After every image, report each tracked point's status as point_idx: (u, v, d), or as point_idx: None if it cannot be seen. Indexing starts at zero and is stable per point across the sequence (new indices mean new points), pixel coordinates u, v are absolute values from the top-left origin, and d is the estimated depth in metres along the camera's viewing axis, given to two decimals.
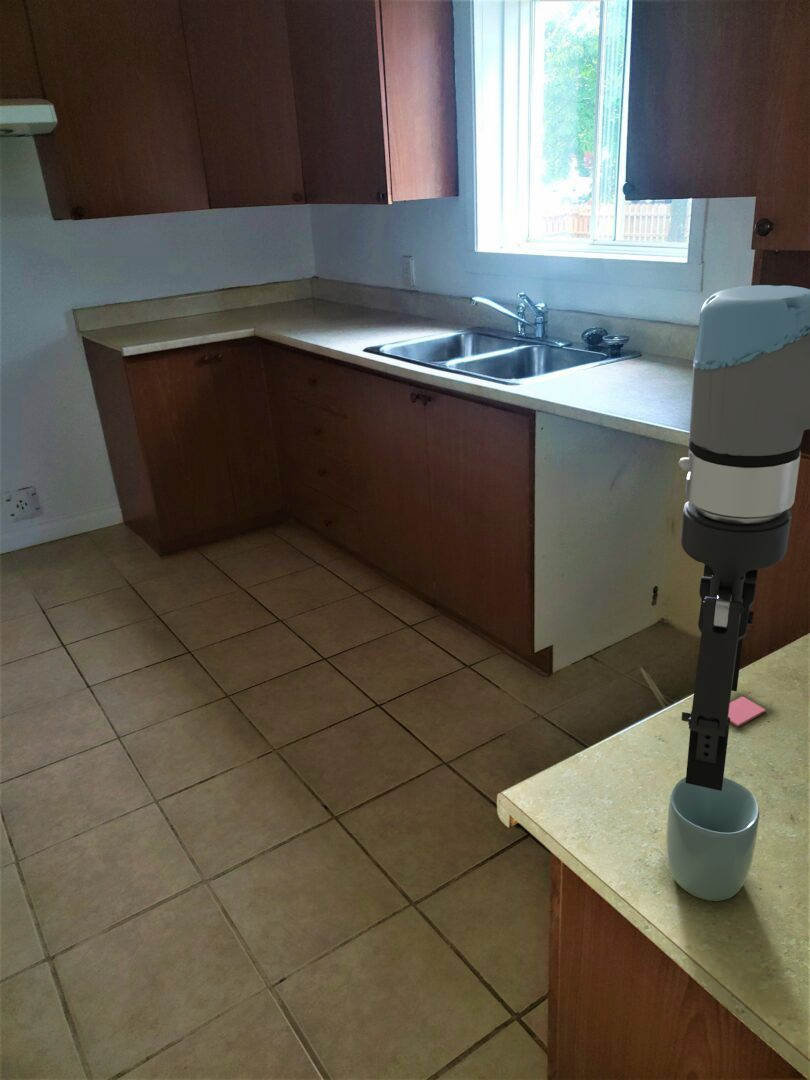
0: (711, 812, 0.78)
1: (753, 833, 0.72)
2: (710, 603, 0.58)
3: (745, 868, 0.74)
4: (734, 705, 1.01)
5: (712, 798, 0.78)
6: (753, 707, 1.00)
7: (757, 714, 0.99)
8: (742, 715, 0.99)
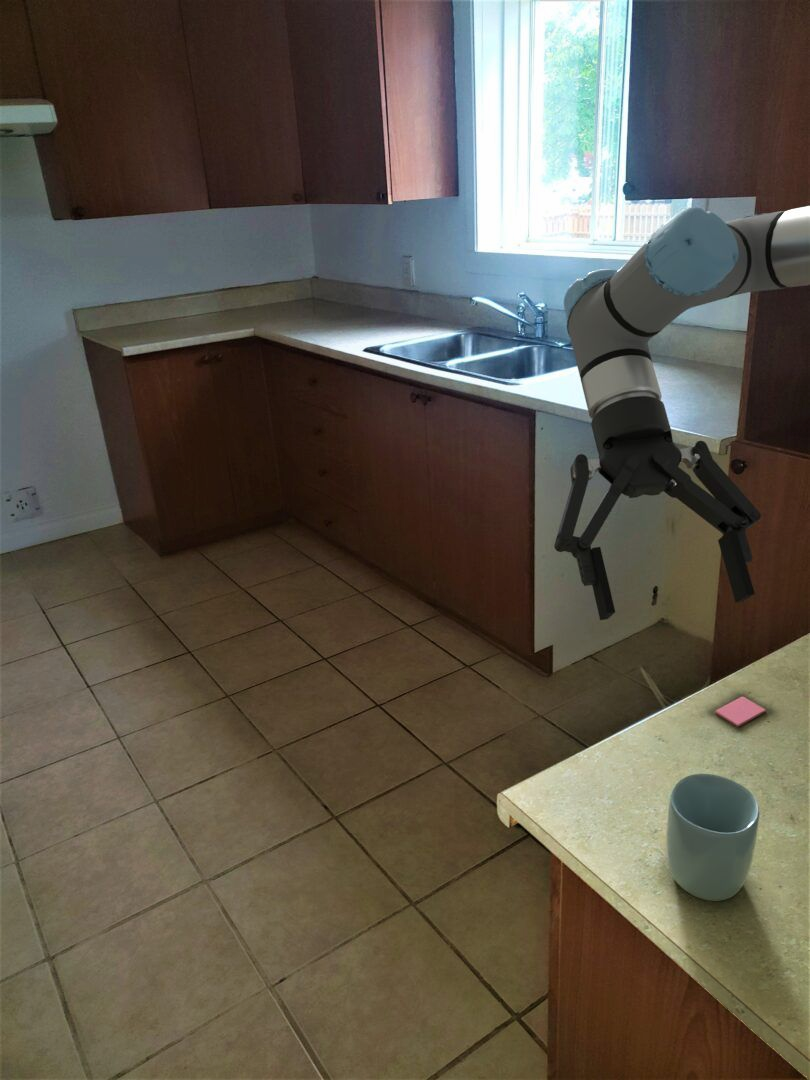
0: (711, 812, 0.78)
1: (753, 833, 0.72)
2: None
3: (745, 868, 0.74)
4: (734, 705, 1.01)
5: (712, 798, 0.78)
6: (753, 707, 1.00)
7: (757, 714, 0.99)
8: (742, 715, 0.99)
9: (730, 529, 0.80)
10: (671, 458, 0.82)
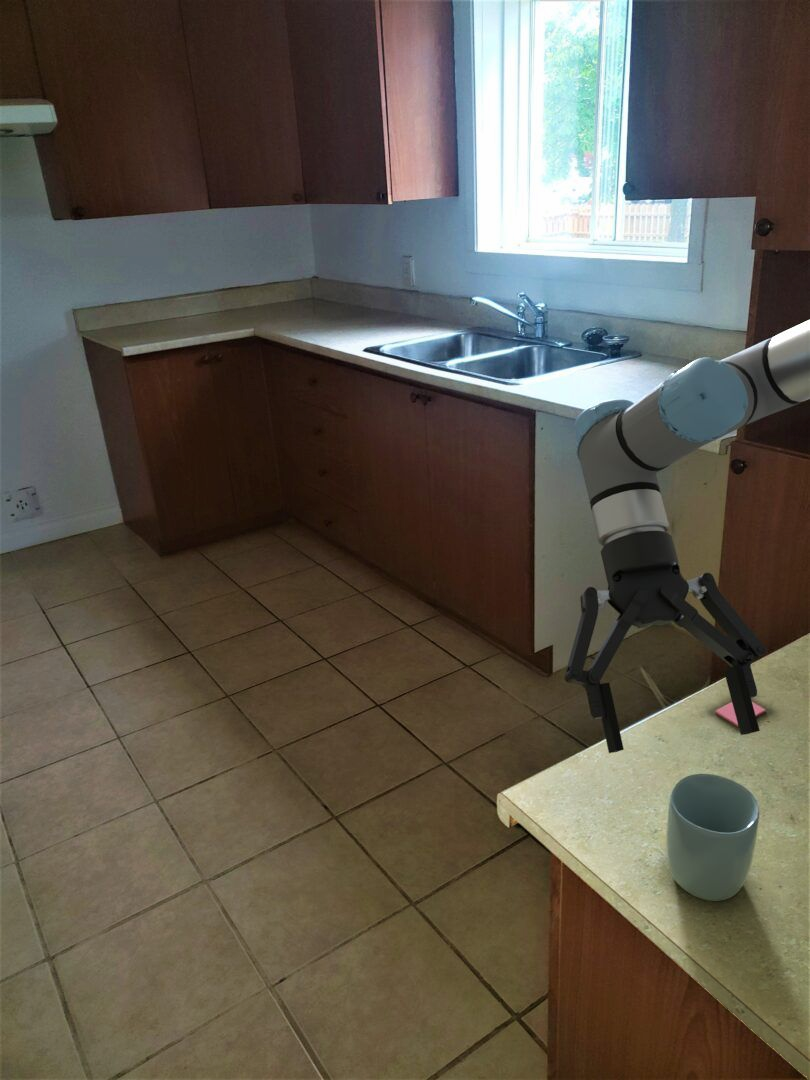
0: (711, 812, 0.78)
1: (753, 833, 0.72)
2: (582, 594, 0.86)
3: (745, 868, 0.74)
4: None
5: (712, 798, 0.78)
6: (753, 707, 1.00)
7: (757, 714, 0.99)
8: None
9: (736, 662, 0.82)
10: (678, 591, 0.84)
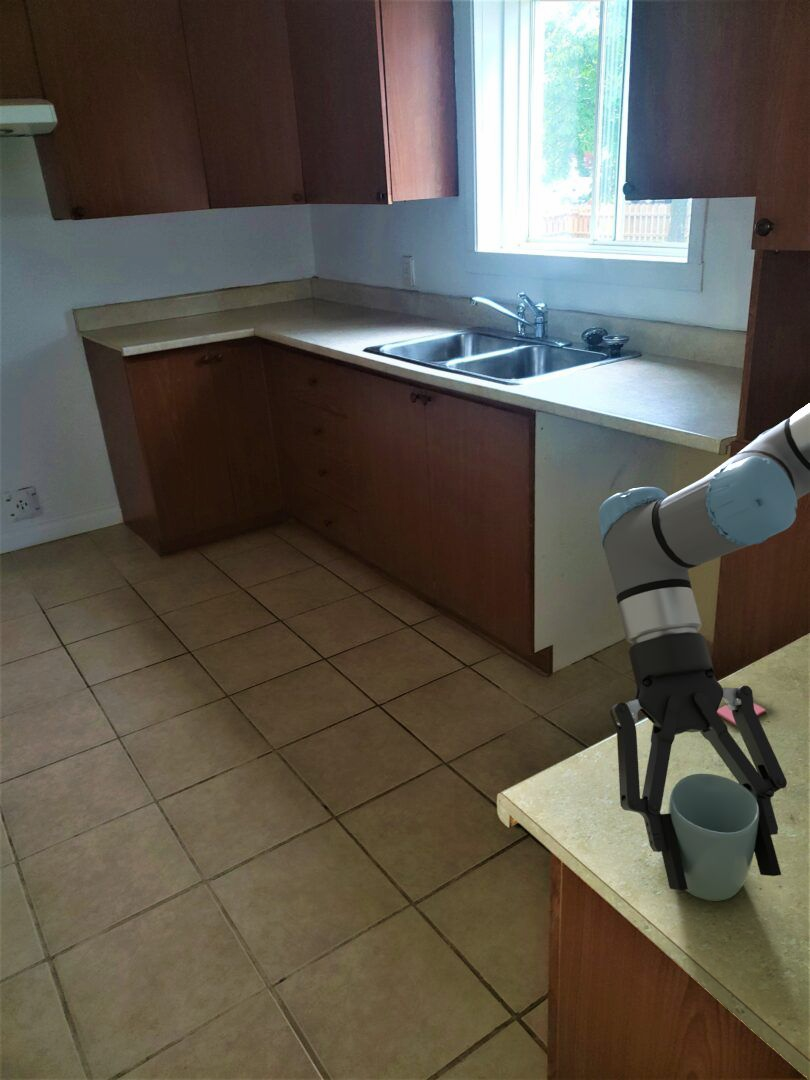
0: (711, 812, 0.78)
1: (753, 833, 0.72)
2: (611, 709, 0.80)
3: (745, 868, 0.74)
4: None
5: (712, 798, 0.78)
6: None
7: (757, 714, 0.99)
8: None
9: (753, 793, 0.77)
10: (713, 696, 0.79)
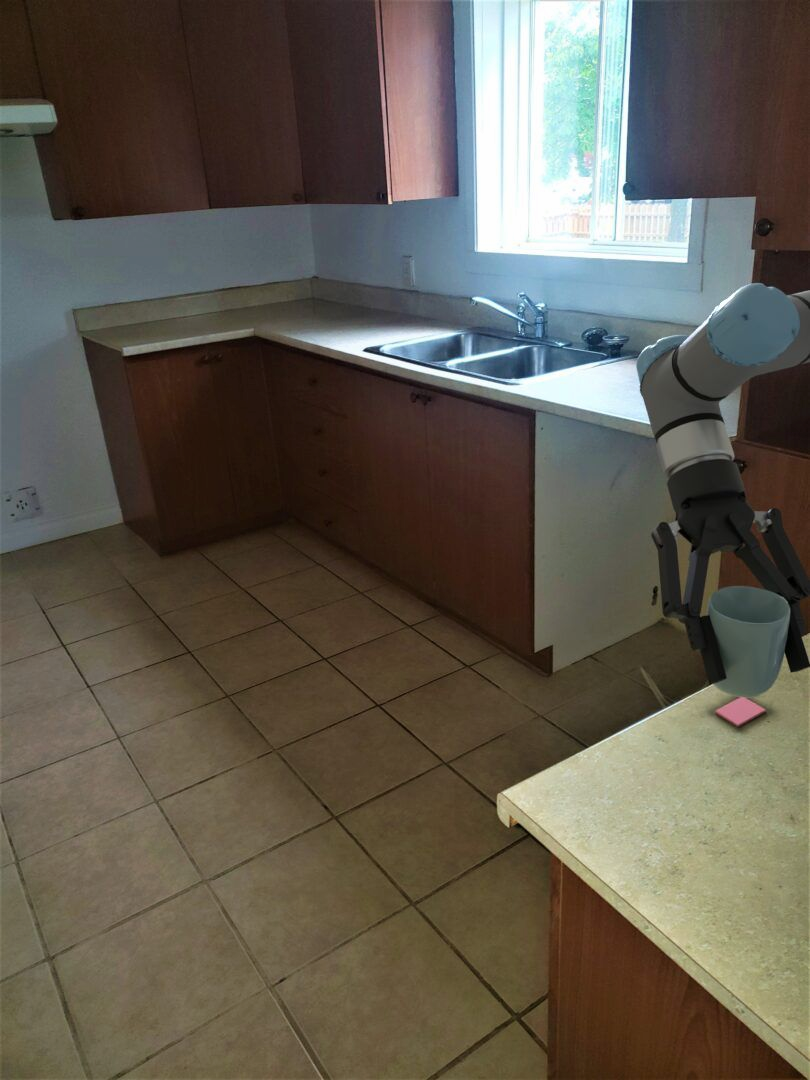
0: (745, 620, 0.85)
1: (785, 626, 0.80)
2: (652, 531, 0.88)
3: (778, 661, 0.81)
4: (734, 705, 1.01)
5: (745, 607, 0.85)
6: (753, 707, 1.00)
7: (757, 714, 0.99)
8: (742, 715, 0.99)
9: None
10: (745, 517, 0.87)
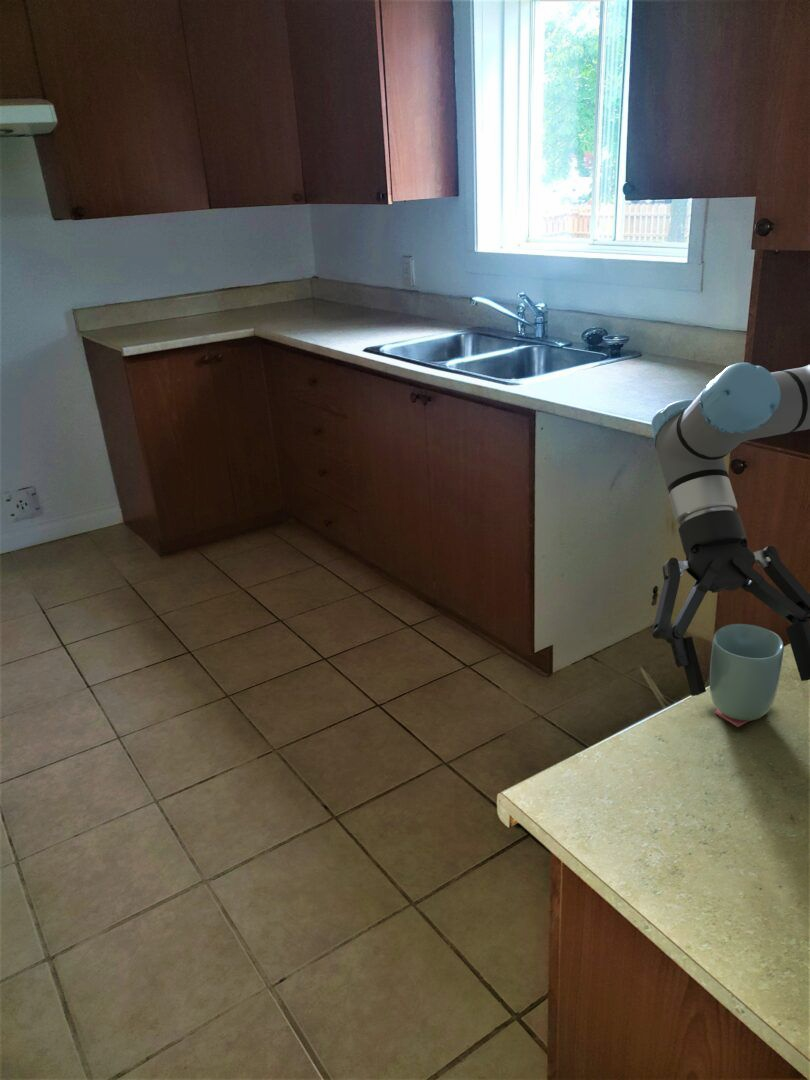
0: (745, 653, 0.99)
1: (779, 660, 0.93)
2: (664, 564, 1.01)
3: (773, 690, 0.95)
4: None
5: (745, 642, 0.99)
6: None
7: None
8: None
9: (796, 620, 0.98)
10: (747, 560, 1.00)
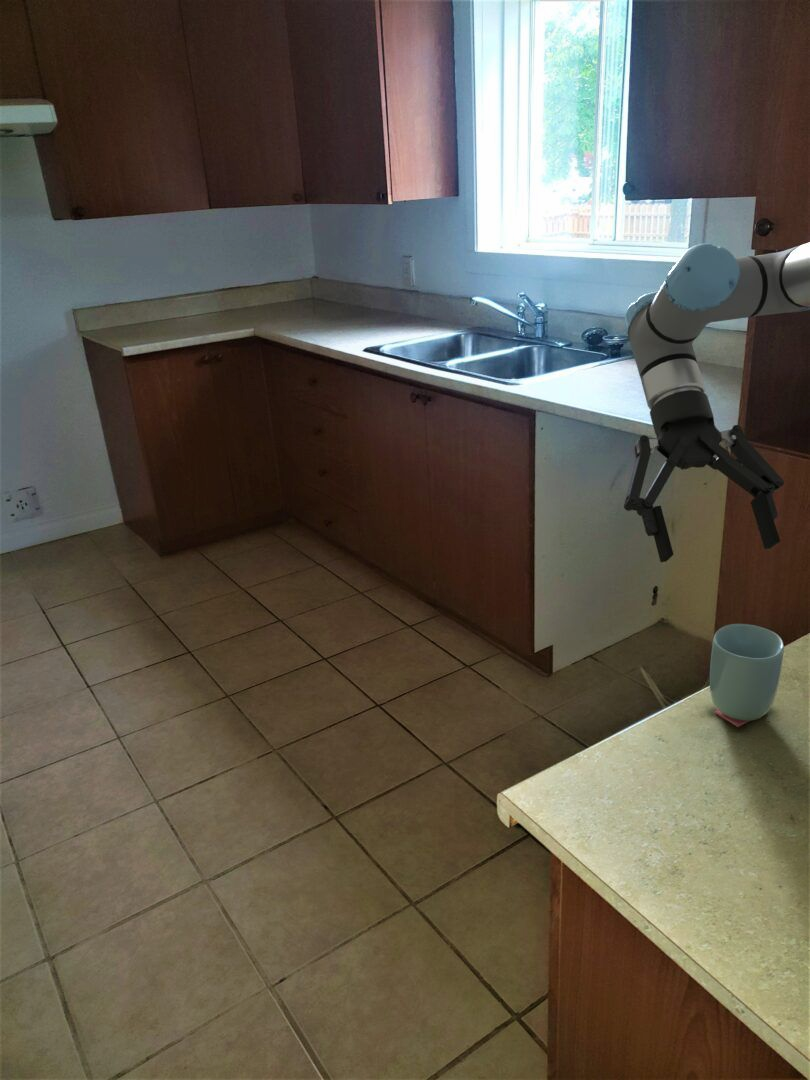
0: (745, 653, 0.99)
1: (779, 660, 0.93)
2: (636, 444, 1.07)
3: (773, 690, 0.95)
4: None
5: (746, 642, 0.99)
6: None
7: None
8: None
9: (760, 493, 1.04)
10: (714, 438, 1.05)
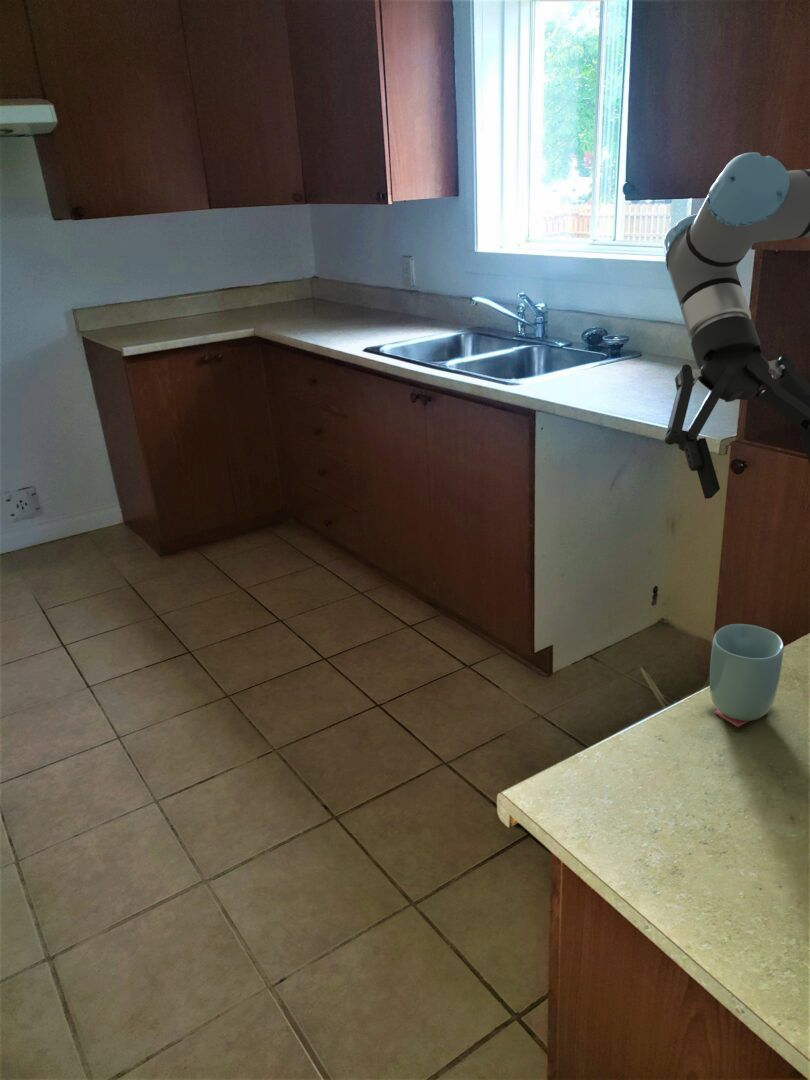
0: (745, 653, 0.99)
1: (779, 660, 0.93)
2: (677, 375, 1.00)
3: (772, 690, 0.95)
4: None
5: (745, 642, 0.99)
6: None
7: None
8: None
9: None
10: (761, 368, 0.98)
